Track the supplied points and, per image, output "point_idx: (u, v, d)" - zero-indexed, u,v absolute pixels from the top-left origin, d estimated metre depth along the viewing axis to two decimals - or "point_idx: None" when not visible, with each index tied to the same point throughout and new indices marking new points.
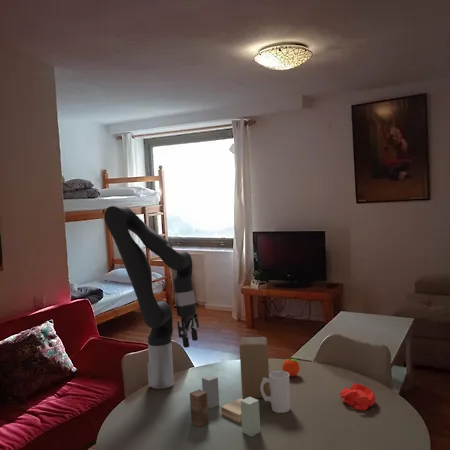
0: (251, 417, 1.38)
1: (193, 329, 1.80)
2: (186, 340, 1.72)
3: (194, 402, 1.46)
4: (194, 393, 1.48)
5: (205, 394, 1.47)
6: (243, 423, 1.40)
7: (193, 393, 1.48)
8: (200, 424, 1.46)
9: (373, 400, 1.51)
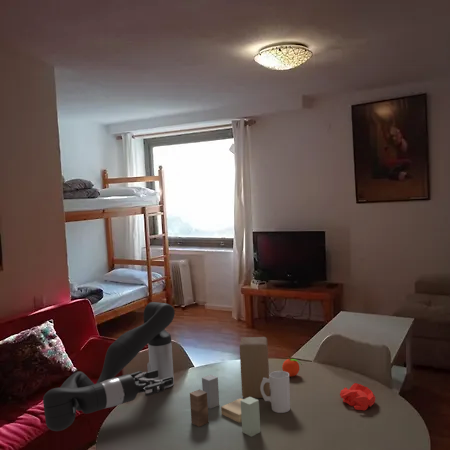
0: (251, 417, 1.38)
1: (145, 377, 1.40)
2: (165, 380, 1.34)
3: (194, 402, 1.46)
4: (194, 393, 1.48)
5: (205, 394, 1.47)
6: (243, 423, 1.40)
7: (193, 393, 1.48)
8: (200, 424, 1.46)
9: (373, 400, 1.51)
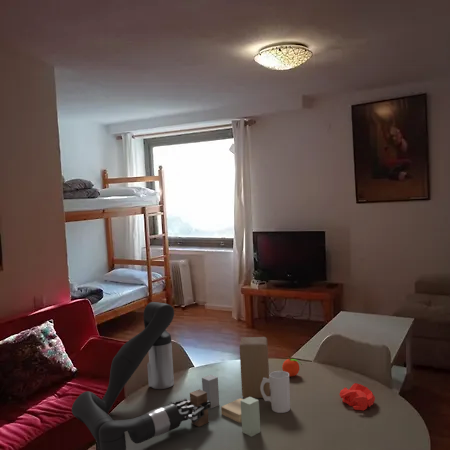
0: (251, 417, 1.38)
1: None
2: (204, 405, 1.46)
3: (194, 402, 1.46)
4: (194, 393, 1.47)
5: (205, 394, 1.47)
6: (243, 423, 1.40)
7: (193, 393, 1.48)
8: (200, 424, 1.46)
9: (372, 400, 1.51)
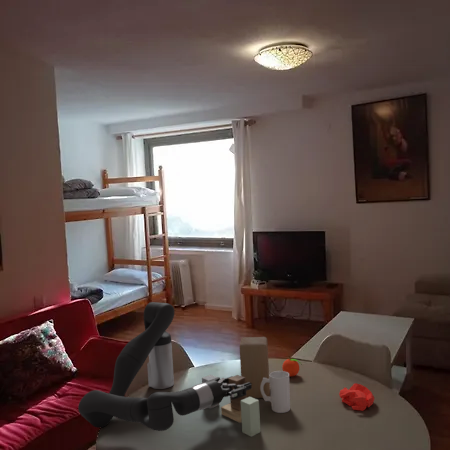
0: (251, 417, 1.38)
1: (224, 382, 1.53)
2: (246, 385, 1.48)
3: None
4: (233, 378, 1.52)
5: (244, 379, 1.51)
6: (243, 423, 1.40)
7: (232, 378, 1.52)
8: (240, 408, 1.50)
9: (371, 401, 1.51)
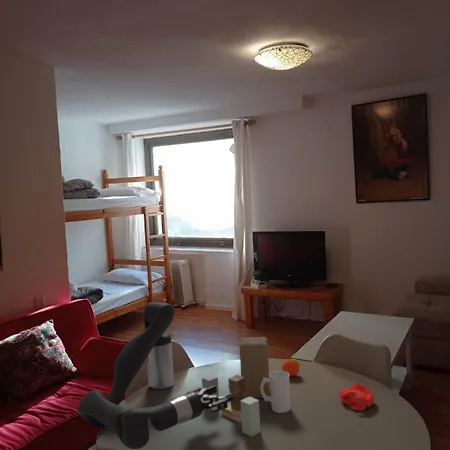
0: (251, 417, 1.38)
1: (205, 393, 1.48)
2: (227, 397, 1.42)
3: (233, 387, 1.50)
4: (232, 378, 1.51)
5: (243, 379, 1.51)
6: (243, 423, 1.40)
7: (231, 378, 1.52)
8: (240, 408, 1.50)
9: (371, 401, 1.51)
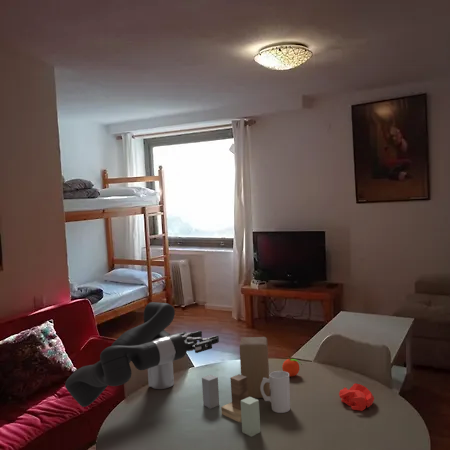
0: (251, 417, 1.38)
1: (190, 337, 1.45)
2: (212, 339, 1.39)
3: (235, 386, 1.51)
4: (235, 377, 1.52)
5: (245, 378, 1.52)
6: (243, 423, 1.40)
7: (234, 377, 1.52)
8: None
9: (371, 401, 1.51)
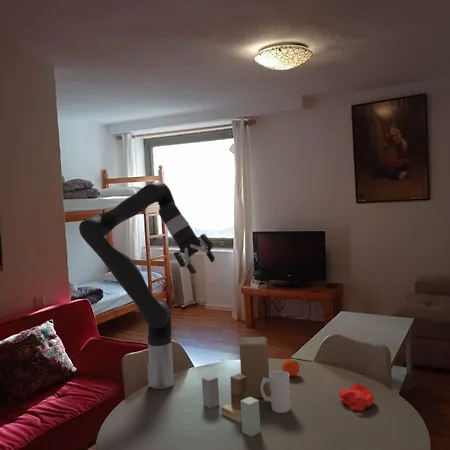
0: (251, 417, 1.38)
1: (188, 262, 1.66)
2: None
3: (234, 385, 1.52)
4: (235, 376, 1.53)
5: (245, 378, 1.52)
6: (243, 423, 1.40)
7: (234, 376, 1.53)
8: (240, 407, 1.51)
9: (370, 401, 1.51)
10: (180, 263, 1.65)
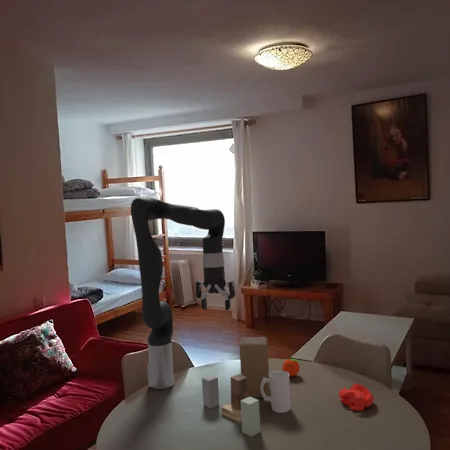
0: (251, 417, 1.38)
1: None
2: None
3: (234, 385, 1.51)
4: (235, 377, 1.52)
5: (245, 379, 1.52)
6: (243, 423, 1.40)
7: (234, 377, 1.52)
8: (239, 407, 1.51)
9: (370, 401, 1.51)
10: (197, 294, 1.64)
